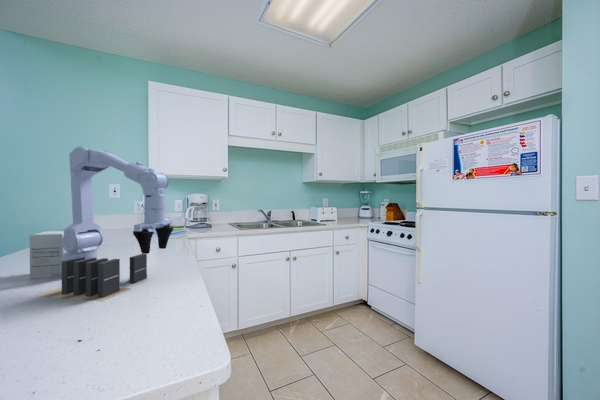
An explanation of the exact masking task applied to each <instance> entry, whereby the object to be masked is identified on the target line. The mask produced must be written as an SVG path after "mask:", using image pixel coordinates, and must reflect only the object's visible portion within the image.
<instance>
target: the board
mask: <svg viewBox="0 0 600 400" xmlns="http://www.w3.org/2000/svg"><path fill="white" fill-rule="evenodd" d="M131 289H132V288H127V287H120V291H118V292H115V293H113V294H111V295H108V296H106V297H103V298H102V297H98V294H96V295H94V296H91V297H89V296H86V293H84V294H82V295H79V296H76V295H74V292H73V293H70V294H67V295H63V294H62V286H60V287H58V288H54V289H51V290H49V291H44V292H41V293H39V294H36V295H35V294H34V297H44V298H45V297H46V298H56V299H69V300H81V301H92V302H93V301H94V302H104V301H106V300H109V299H111V298H113V297H115V296H117V295H118V296H119V295H120V294H123V293H124V292H127V291H129V290H131Z"/></svg>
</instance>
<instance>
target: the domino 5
mask: <svg viewBox="0 0 600 400" xmlns="http://www.w3.org/2000/svg"><path fill="white" fill-rule="evenodd" d="M147 256H148V255H147V254H143V253H140V254H137V255H134V256H130V257H129V284H136V283H139V282H142V281H144V280H147V278H148V277H147V274H148V273H147V272H148V271H147V270H148V269H147V267H148V266H147V265H148V264H147V263H148V259H147V258H148V257H147Z"/></svg>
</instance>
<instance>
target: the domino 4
mask: <svg viewBox="0 0 600 400" xmlns="http://www.w3.org/2000/svg"><path fill="white" fill-rule="evenodd" d="M120 263H121V262H120V258H112V259H110V260H109V259H108V261H105V262H101V263H98V297H102V298H103V297H106V296H108V295H111V294H113V293H115V292H118V291H120V288H121V287H120V286H121V284H120V283H121V282H120V279H121V275H120V274H121V273H120V272H121V271H120V268H121V267H120V266H121V265H120Z"/></svg>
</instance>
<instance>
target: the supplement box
mask: <svg viewBox="0 0 600 400" xmlns="http://www.w3.org/2000/svg"><path fill="white" fill-rule="evenodd" d="M63 236H64V230H49V231H48V230H47V231H42V232H38V233H34V234H29V279H30V280H35V279H48V278H53V277H58V276H61V258H62V256H63V255H64V254H65V253H66V252H67V251H66V250H65V249H64V248H63V246H62V239H63Z"/></svg>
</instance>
